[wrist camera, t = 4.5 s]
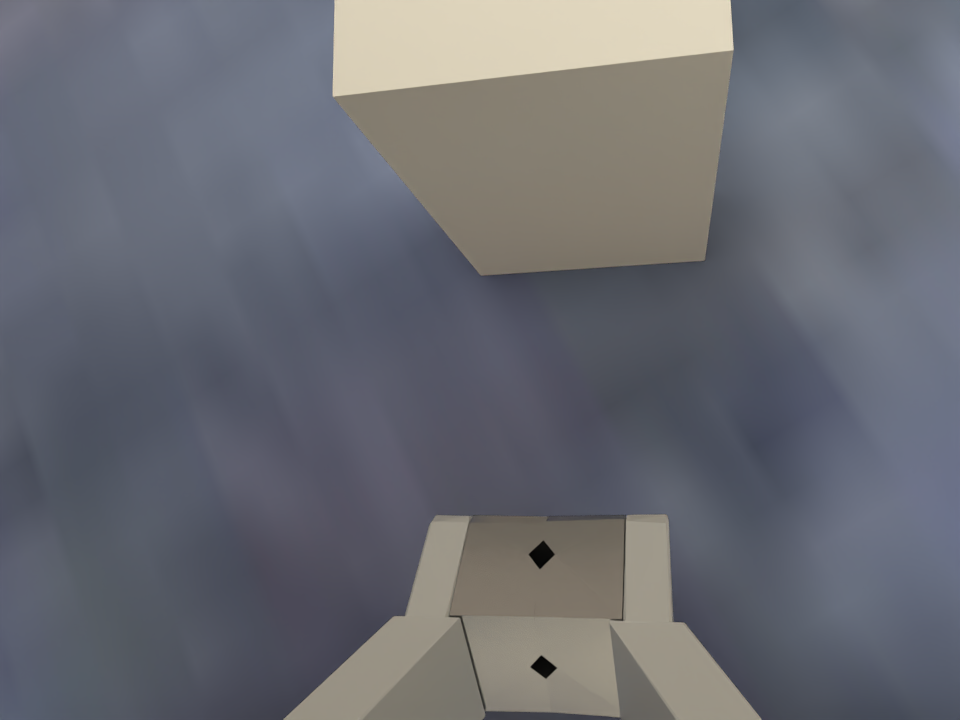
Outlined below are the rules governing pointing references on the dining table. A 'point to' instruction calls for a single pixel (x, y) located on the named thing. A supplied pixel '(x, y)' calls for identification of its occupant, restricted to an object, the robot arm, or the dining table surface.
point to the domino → (546, 122)
